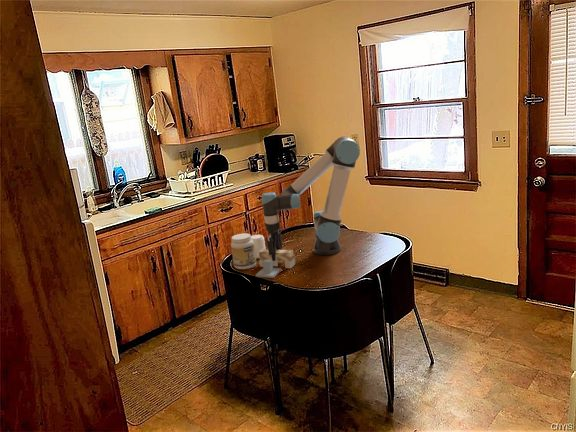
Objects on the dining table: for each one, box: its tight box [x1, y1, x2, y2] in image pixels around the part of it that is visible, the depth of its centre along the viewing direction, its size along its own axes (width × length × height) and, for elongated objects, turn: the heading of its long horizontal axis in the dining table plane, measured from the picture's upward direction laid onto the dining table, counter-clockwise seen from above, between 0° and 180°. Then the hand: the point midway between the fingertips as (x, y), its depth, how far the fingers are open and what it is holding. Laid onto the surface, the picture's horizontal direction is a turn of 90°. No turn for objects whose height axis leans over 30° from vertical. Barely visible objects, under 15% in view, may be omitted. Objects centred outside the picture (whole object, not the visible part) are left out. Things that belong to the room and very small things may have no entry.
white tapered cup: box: [251, 234, 267, 259], centre depth 262 cm, size 8×8×12 cm
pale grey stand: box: [255, 259, 282, 279], centre depth 237 cm, size 10×10×7 cm
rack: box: [258, 256, 296, 269], centre depth 247 cm, size 18×6×4 cm, turn 66°
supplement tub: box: [230, 233, 257, 270], centre depth 250 cm, size 12×12×17 cm
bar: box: [259, 248, 295, 262], centre depth 246 cm, size 18×4×4 cm, turn 66°
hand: (277, 263), depth 247 cm, fingers closed on bar, 4 cm apart
